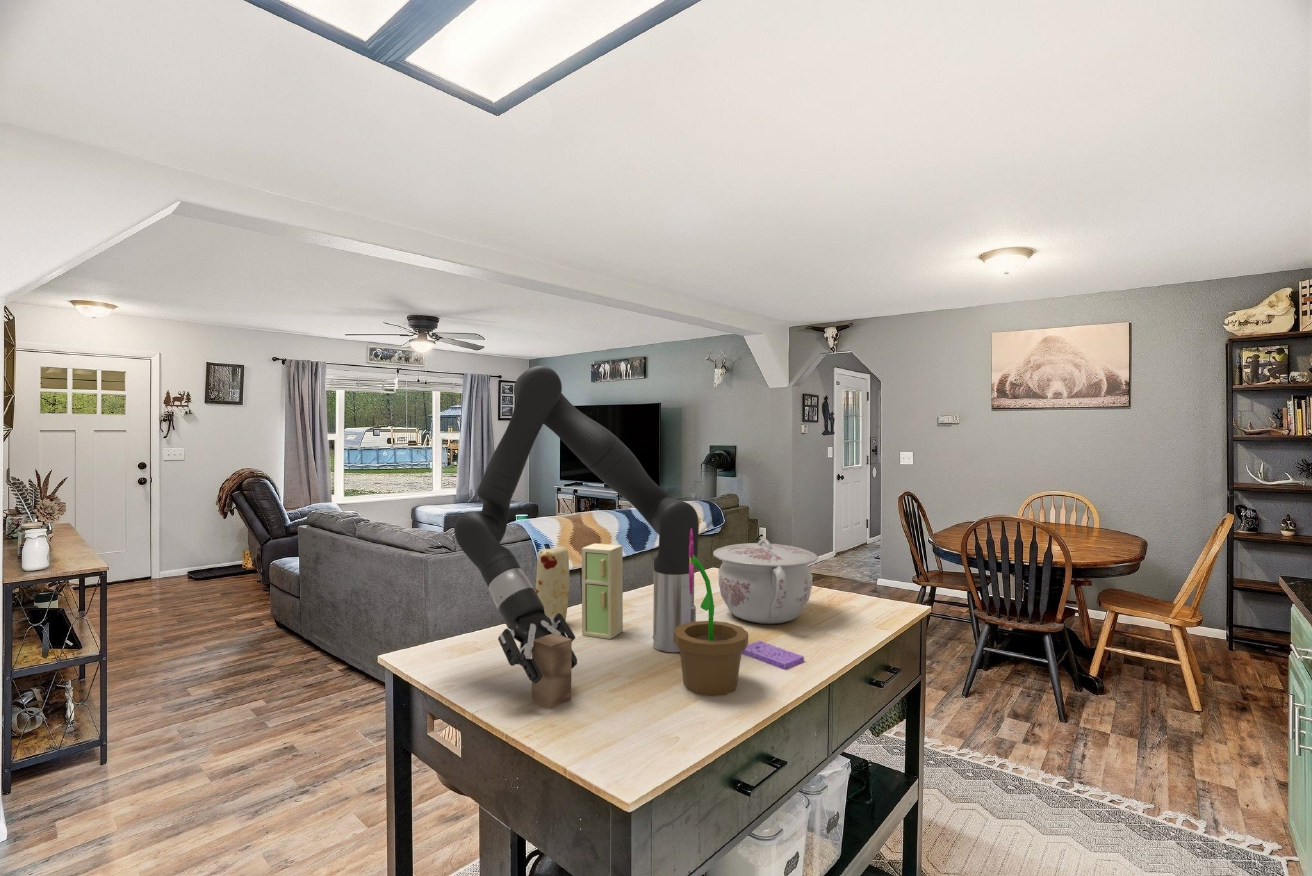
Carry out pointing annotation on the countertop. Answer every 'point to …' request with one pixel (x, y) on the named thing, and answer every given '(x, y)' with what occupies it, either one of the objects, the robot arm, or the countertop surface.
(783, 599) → the chamber pot
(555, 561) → the food model
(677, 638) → the flowerpot
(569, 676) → the walnut block
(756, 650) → the sponges
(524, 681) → the countertop surface
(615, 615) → the toy refrigerator
